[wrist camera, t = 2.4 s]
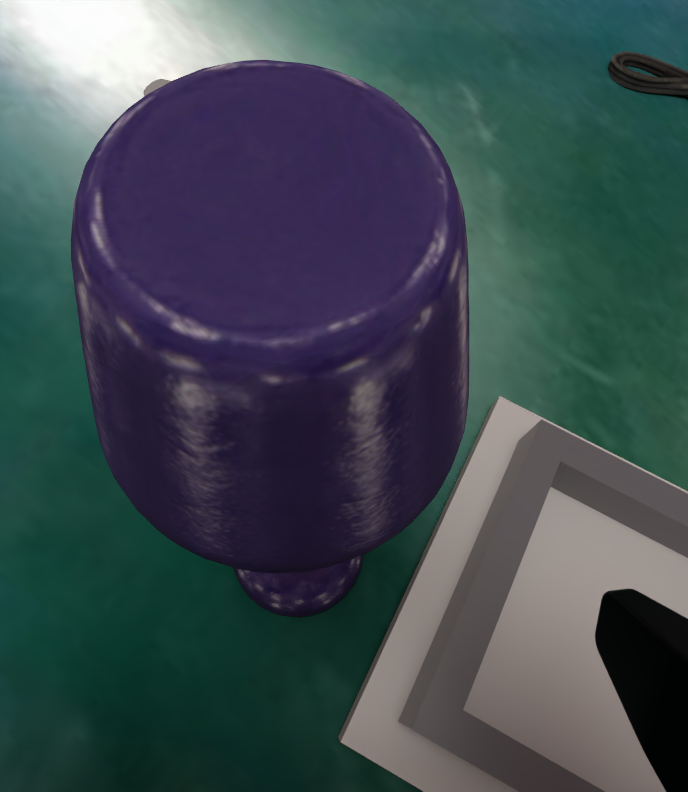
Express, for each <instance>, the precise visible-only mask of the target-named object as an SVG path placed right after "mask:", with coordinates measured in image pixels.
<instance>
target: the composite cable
mask: <svg viewBox="0 0 688 792" xmlns="http://www.w3.org/2000/svg"><path fill="white" fill-rule="evenodd" d="M625 66H631V67H636V68H640V69H642V70H645V71H646V72H649V73H652V74H654V75H656V76H658V77H654V76H650V75H645V74H641V73H640V72H634V71H632V70H630V69H628V68H627V67H625ZM609 75H610V77H611V78H612V80H613V81H615V82H616V83H617V84H619V85H621V86H623V87H625V88H627V89H631V90H635V91H638V92H645V93H654V94H667V95H681V96H684V97H686V98H688V71H685V70H682V69H680V68H678V67H675V66H673V65H671V64H668V63H665V62H663V61H661V60H658V59H656V58H653V57H650V56H646V55H644V54H638V53H633V52H627V51H626V52H621V53H617V54H615V55H614V56H613V57H612V59H611V62H610V64H609Z"/></svg>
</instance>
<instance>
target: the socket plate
mask: <svg viewBox="0 0 688 792" xmlns="http://www.w3.org/2000/svg"><path fill="white" fill-rule="evenodd" d="M619 589H634V590H636V591H639V592H640V593H642V594H644V595H646V596H648V597H649V598H651V599H653V600H655V601H657V602H658V603H660V604H662V605H664V606H666V607H668V608H669V609H671V610H673V611H675V612H677V613H678V614H680V615H682V616H684V617H686V618H687V619H688V491H686V490H684V489H682V488H680V487H678V486H676V485H674V484H672V483H670V482H668V481H666V480H664V479H662V478H660V477H658V476H656V475H654V474H652V473H650V472H648V471H646V470H644V469H642V468H640V467H638V466H636V465H634V464H632V463H631V462H629V461H627V460H625V459H623V458H621V457H619V456H617V455H615V454H613V453H611V452H609V451H607V450H605V449H603V448H601V447H599V446H597V445H595V444H593V443H591V442H589V441H587V440H585V439H583V438H581V437H579V436H577V435H575V434H573V433H571V432H569V431H567V430H566V429H564V428H562V427H560V426H558V425H556V424H554V423H552V422H550V421H548V420H546V419H544V418H542V417H540V416H538V415H536V414H534V413H532V412H530V411H528V410H526V409H524V408H522V407H520V406H518V405H516V404H514V403H512V402H510V401H508V400H506V399H504V398H502V397H501V396H500V397H499V398H498V399H497V400H496V401H495V403H494V404H493V405H492V406H491V408H490V410H489V412H488V414H487V417H486V419H485V421H484V423H483V425H482V427H481V429H480V432H479V434H478V436H477V438H476V440H475V442H474V445H473V447H472V449H471V451H470V453H469V455H468V458H467V460H466V462H465V464H464V466H463V468H462V470H461V473H460V475H459V477H458V479H457V481H456V483H455V486H454V488H453V490H452V492H451V494H450V496H449V499H448V501H447V503H446V505H445V507H444V509H443V511H442V514H441V516H440V518H439V520H438V522H437V524H436V527H435V529H434V531H433V533H432V535H431V537H430V540H429V542H428V544H427V546H426V548H425V550H424V552H423V555H422V557H421V559H420V561H419V563H418V565H417V568H416V570H415V572H414V574H413V576H412V578H411V581H410V583H409V585H408V587H407V589H406V591H405V593H404V596H403V598H402V600H401V602H400V604H399V606H398V609H397V611H396V613H395V615H394V617H393V619H392V621H391V624H390V626H389V628H388V630H387V632H386V634H385V637H384V639H383V641H382V643H381V645H380V647H379V650H378V652H377V654H376V656H375V658H374V660H373V662H372V665H371V667H370V669H369V671H368V673H367V675H366V678H365V680H364V682H363V684H362V686H361V688H360V691H359V693H358V695H357V697H356V699H355V701H354V703H353V706H352V708H351V710H350V712H349V714H348V716H347V719H346V721H345V723H344V725H343V727H342V729H341V732H340V734H339V736H338V739H339V741H340V742H341V743H343V744H345V745H346V746H348V747H350V748H351V749H353V750H355V751H356V752H358V753H360V754H361V755H363V756H365V757H366V758H368V759H370V760H371V761H373V762H375V763H376V764H378V765H380V766H381V767H383V768H385V769H386V770H388V771H390V772H392V773H393V774H395V775H397V776H398V777H400V778H402V779H403V780H405V781H407V782H408V783H410V784H412V785H413V786H415V787H417V788H418V789H420V790H422V791H423V792H666V791H665V789H664V787H663V785H662V784H661V782H660V780H659V778H658V777H657V775H656V773H655V771H654V769H653V768H652V766H651V764H650V762H649V760H648V758H647V757H646V755H645V753H644V751H643V749H642V747H641V745H640V743H639V740H638V738H637V736H636V734H635V732H634V730H633V728H632V725H631V723H630V721H629V719H628V717H627V714H626V712H625V710H624V708H623V705H622V703H621V701H620V699H619V697H618V694H617V692H616V690H615V688H614V686H613V683H612V681H611V679H610V677H609V675H608V672H607V670H606V668H605V666H604V663H603V661H602V659H601V657H600V655H599V652H598V650H597V646H596V642H595V630H596V625H597V620H598V614H599V609H600V604H601V599H602V596H603V595H604V593H605V592H607V591H610V590H619Z"/></svg>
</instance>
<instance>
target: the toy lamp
mask: <svg viewBox="0 0 688 792" xmlns="http://www.w3.org/2000/svg"><path fill="white" fill-rule="evenodd" d="M71 261H72V270H73V277H74V286H75V294H76V301H77V309H78V317H79V325H80V333H81V340H82V347H83V354H84V359H85V364H86V371H87V377H88V383H89V388H90V394H91V400H92V405H93V411H94V417H95V422H96V426H97V431H98V436H99V441H100V443H101V446H102V449H103V452H104V455H105V457H106V460H107V462H108V464H109V467H110V469H111V471H112V474H113V476H114V478H115V479H116V481H117V482H118V484H119V485H120V487H121V488H122V490H123V491H124V492H125V494H126V495H127V497H128V498H129V499H130V501H131V502H132V504H133V505H134V506H135V508H136V509H137V510H138V512H140V513H141V514H142V515H143V516H144V517H145V518H146V519H147V520H148V521H149V522H150V523H151V524H152V525H153V526H154V527H155V528H156V529H157V530H158V531H160V532H161V533H162V534H163V535H165V536H166V537H167V538H169V539H170V540H171V541H173V542H175V543H176V544H178V545H179V546H181V547H183V548H185V549H187V550H189V551H191V552H193V553H195V554H197V555H199V556H201V557H203V558H205V559H208V560H211V561H215V562H218V563H221V564H225V565H228V566H231V567H233V568H234V571H235V574H236V576H237V579H238V581H239V583H240V584H241V586H242V588H243V590H244V591H245V592H246V594H247V595H248V596H249V597H250V598H251V599H252V600H254V601H255V602H256V603H257V604H258V605H259V606H260V607H262V608H264V609H265V610H268V611H270V612H273V613H275V614H279V615H283V616H292V617H303V616H309V615H314V614H317V613H320V612H322V611H325V610H327V609H329V608H330V607H332V606H333V605H335V604H336V603H338V602H339V601H340V600H341V599H342V598H343V597H344V596H345V595H346V594H347V593H348V592H349V590H350V589H351V588H352V587H353V585H354V584H355V582H356V580H357V578H358V575H359V572H360V569H361V566H362V559H363V554H366V553H368V552H370V551H372V550H373V549H375V548H377V547H378V546H380V545H381V544H383V543H385V542H386V541H388V540H389V539H391V538H393V537H394V536H395V535H397V534H398V533H400V532H401V531H402V530H403V529H405V528H406V527H407V526H408V525H409V524H411V523H412V522H413V521H414V519H415V518H416V517H417V516H418V515H419V514H420V513H421V512H422V511H423V510H424V509H425V508H426V507H427V505H428V504H429V503H430V502H431V501H432V500H433V498H434V497H435V495H436V494H437V492H438V491H439V490H440V488H441V486H442V484H443V482H444V481H445V479H446V477H447V475H448V473H449V471H450V469H451V467H452V464H453V462H454V459H455V457H456V454H457V451H458V448H459V445H460V442H461V440H462V437H463V434H464V430H465V423H466V416H467V407H468V397H469V297H468V249H467V236H466V226H465V217H464V211H463V207H462V203H461V199H460V195H459V193H458V190H457V187H456V184H455V181H454V179H453V176H452V173H451V170H450V168H449V166H448V164H447V162H446V160H445V158H444V156H443V154H442V152H441V150H440V148H439V147H438V145H437V144H436V143H435V141H434V140H433V139H432V138H431V136H430V135H429V134H428V132H427V131H426V130H425V128H424V127H423V126H422V124H421V123H419V122H418V121H417V120H416V119H415V118H414V117H413V116H412V115H410V114H409V113H408V112H407V111H406V110H405V109H404V108H402V107H401V106H400V105H399V104H398V103H397V102H396V101H395V100H393V99H392V98H390V97H389V96H387V95H386V94H384V93H383V92H381V91H379V90H377V89H376V88H374V87H372V86H370V85H368V84H367V83H365V82H363V81H361V80H358V79H356V78H353V77H351V76H348V75H346V74H343V73H341V72H338V71H334V70H331V69H327V68H323V67H319V66H315V65H309V64H302V63H293V62H282V61H271V60H251V61H240V62H233V63H227V64H223V65H218V66H213V67H209V68H204V69H201V70H199V71H196V72H194V73H191V74H189V75H186V76H183V77H181V78H178V79H176V80H173V81H171V82H169V83H168V84H166V85H164V86H162V87H160V88H158V89H156V90H155V91H153V92H151V93H149V94H147V95H146V96H145V97H143V98H142V99H141V100H139V101H138V102H136V103H135V104H134V105H132V106H131V107H130V108H128V109H127V110H126V111H125V112H124V113H123V114H122V115H121V116H120V117H119V118H118V119H117V120H116V121H115V122H114V123H113V124H112V125H111V127H110V128H109V129H108V131H107V132H106V133H105V134H104V136H103V137H102V138H101V140H100V141H99V142H98V144H97V145H96V147H95V149H94V151H93V152H92V154H91V156H90V158H89V160H88V161H87V163H86V165H85V168H84V171H83V175H82V178H81V181H80V185H79V188H78V191H77V194H76V198H75V201H74V210H73V222H72V234H71Z"/></svg>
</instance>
